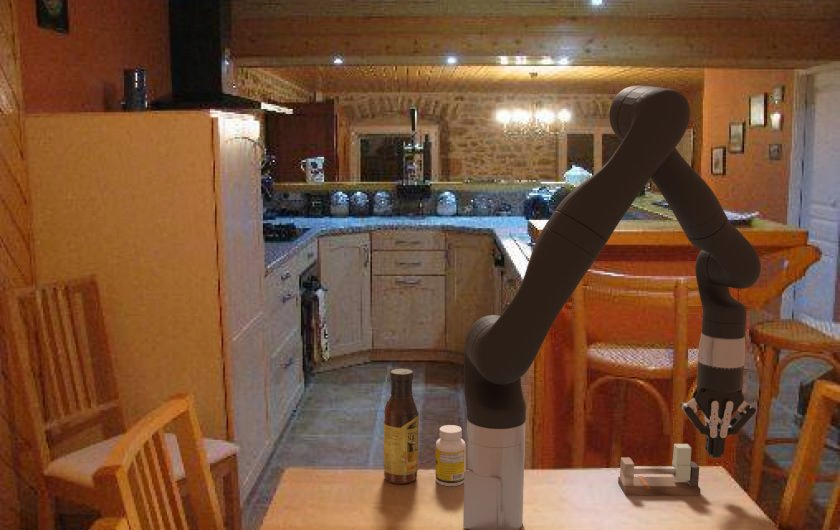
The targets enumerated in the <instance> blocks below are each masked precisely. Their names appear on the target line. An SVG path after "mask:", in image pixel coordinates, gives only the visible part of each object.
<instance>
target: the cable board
mask: <svg viewBox="0 0 840 530" xmlns="http://www.w3.org/2000/svg"><path fill="white" fill-rule="evenodd" d="M690 466H691V471H690V481H686V480H675V478H674V477H673V476H642V475H672V474H676V467H672V466H669V465H668V466H663V465H662V466H659V465H658V466H652V465H651V466H650V465H649V466H648V465H647V466H644V465H643V466H641V465H639V466H638V465H636V466H635V463H634V461H633V460H632V458H631V457H620V467H619V468H620V469H619V476H618V478H617V484H618V485H619V487H620V488H621V490H622V492H623V494H624V495H625V496H701V488H700V486H699V479H700V466H699V465H698V463H696V462H695V461H690ZM635 475H638V476H635ZM639 475H641V476H639Z"/></svg>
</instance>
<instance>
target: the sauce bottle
mask: <svg viewBox="0 0 840 530" xmlns="http://www.w3.org/2000/svg"><path fill="white" fill-rule="evenodd" d="M389 378H390V387H391V389H390V397H389V399H388V401H387V402H386V403H385V406H384V411H383V412H384V421H383V476H384V479H385V480H386V481H387V482H389V483H392V484H397V485H404V484H408V483H409V484H410V483H413V482H414V481H416V479H417V477H418V471H419V431H420V429H419V427H420V426H419V424H420V423H419V421H420V419H419V418H420V417H419V415H420V414H419V411H418V408H417V405H416V403H415V400H414V396H413V380H414V373H413V370H411V369H407V368H397V369H396V368H394V369H392V370H391V371H390V377H389Z"/></svg>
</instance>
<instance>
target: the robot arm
mask: <svg viewBox="0 0 840 530" xmlns="http://www.w3.org/2000/svg"><path fill="white" fill-rule="evenodd" d="M608 115H609V116H608V118H609V124H610V127H611V130H612V132H613V133H614V135H616V137H617V139H618V140H619V141H620V144H619V145H618V146H617V149H616V150H615V152H614V153H613V155H612V156H611V157H610V158H609V160H608V161H607V162H606V163H605V164H604V165H603V166H602V167H601V168H600V169H599V170H597V171H596V172H595V173H594V174H592V175H591V176H589V178H587V179H586V180H585V181H583V182H581V184H579V185H578V186H577V187H576V188H574V189H573V190H572V191H571V192H569V193H568V194H567V195H566V196H565V197H564V198H563V199H562V200H561V202H559V204H558V205H557V207H556V208H555V210H554V211H553V212H552V214H551V215H550V217H549V219H548V220H547V222H546V223H545V225H544V226H543V228H542V230H541V232H540V233H539V235H538V237H537V239H536V241H535V244H534V246H533V248H532V251H531V253H530V257H529V261H528V264H527V266H526V270H525V272H524V275H523V279H522V281H521V283H520V286H519V288H518V290H517V292H516V293H515V295H514V297H513V298H512V299H511V301H510V302H509V304H508V305H507V306H506V308H505V309H504V311H503V312H502V313H501V315H497V314H490V315H485V316H482V317H481V318H478V320H476V321H475V322H474V323H473V324H472V325H471V326H470V327H469V329H468V331H467V334H466V336H465V341H464V347H463V349H464V350H463V380H464V381H463V387H464V388H463V389H464V390H463V391H464V392H463V393H464V400H465V404H466V441H465V444H466V471H465V472H464V483H463V513H462V514H463V515H462V516H463V517H462V518H463V524H462V525H463V526H462V528H464V529H466V530H520V529H521V528H522V526H523V521H524V520H523V519H524V518H523V515H524V490H525V489H524V482H525V481H524V479H525V452H526V451H525V450H526V419H527V418H526V417H527V416H526V415H527V407H526V401H525V397H524V395H523V390H522V381H521V380H522V378H521V377H523V376H524V375H525V374H526V372H528V371H529V369H530V368H531V366H532V364H533V362H534V361H535V359H536V357H537V355H538V353H539V351H540V349H541V347H542V345H543V344H544V341H545V339H546V338H547V336H548V334H549V332H550V329H551V328H552V326H553V324H554V322H555V320H556V319H557V317H558V315H560V312H561V311H562V309H563V307H564V306H565V305H566V303H568V301H569V299H571V296H572V295H573V293H574V292H575V290H576V289H577V287H578V286H579V284H580V283H581V282H582V280H583V279H584V277H585V275H586V274H587V272H588V271H589V270H590V269H591V267H592V265H594V263H595V261H596V260H597V258H598V257H599V255H600V253H601V252H602V250H603V248H604V247H605V246H606V245H607V243H608V241H609V240H610V238H611V237H612V236H613V235H612V234H613V233H614V231H615V230H616V228H617V226H618V225H619V224H620V222H621V220H623V218H624V217H625V215H626V213H627V212H628V210H629V209H630V207H632V204H634V201H635V200H636V199H637V197H638V195H639V194H640V193H641V191H642V190H643V189H644V187H645V186H646V184H648V181H650V180H651V181H652V182H653V184H654V185H655V187H656V189H658V190H659V192H660V194H661V196H662V197H663V199H664V200H665V201H666V204H667V205H668V207H669V209H670V210H671V211H672V213H673V215H674V217H675V219H676V220H677V222H678V224H679V225H680V227H681V229H682V231H683V233H684V234H685V237H686V238H687V240H688V241H689V243H690V244H691V245H692V246H693V247H694V248H696V249H699V250H700V251H699V252H698V255H697V257H696V260H695V268H694V269H695V272H694V273H695V279H696V284H697V289H698V293H699V298H700V299H699V300H700V303H701V307H702V315H701V316H702V320H701V331H700V339H699V343H698V352H697V367H696V368H697V371H696V388H695V391H694V392H693V393H692V398H691V399H690V400H688V401H687V402H684V401H682V402H681V403H680V404H679V407H680V408H681V410H682V411H683V413H684V414H685V415H686V417H687V418H688V419H689V421H690V422H691V424H692V425H693V426H694V427H695V429H696V430H697V431H698V432H699V433H700V434H702V435H705V446H704V449H705V452H706V453H707V454H708V456H709V457H710V459H711V458H712V459H720V458H721V457H722V455H723V456H724V453H725V447H726V446H725V444H726V438H727V436H730V435H732V436H735V435H736V434H737V433H739V431H740V430H741V429H742V428H743V427H744V426H745V425H746V423H748V421H749V420H751V418H752V417H753V416H754V415H755V413H756V412H757V409H756V407H754V406H753V405H752V404H751V403H749V402H747V401H746V400H745V395H744V393H743V388H744V375H745V374H744V372H745V363H746V362H745V361H746V360H745V358H746V341H745V340H746V325H747V307H746V306H745V304H744V303H742V302H741V301H739V300H738V299H736V298H734V297H733V296H732V295H731V293H730V288H731V289H737V290H742V289H743V290H744V289H745V290H746V289H748V288H749V289H750V287H752V286H754V285H755V284H756V283H757V281H758V280H759V278H760V276H761V270H762V264H761V260H760V256H759V254H758V251H756V249H755V248H754V246H753V245H752V243H751V242H749V240H748V239H747V238H746V237H745V236H744V235H743V233H741V232H740V231H739V230H738V229H737V228H736V226H735V225H733V224H732V223H731V222H730V220H729V219H728V216H727V214H726V213H725V210H724V209H723V207H722V205H721V203H720V201H719V199H718V197H717V196H716V194H715V193H714V191H713V190H712V188H711V187H710V185H709V184H708V183H707V182H706V181H705V180H704V179H703V177H701V175H699V174H698V173H697V172H696V170H695V169H694V168H693V167H692V166H691V165H690V164H689V163H688V162H687V160H685V158H683V156H682V155H681V153H680V151H678V149H677V148H676V147H677V146H678V144H679V143H680V142H681V141H682V139H683V137H684V135H685V133H686V131H687V129H688V126H689V123H690V119H691V107H690V104H689V101H688V99H687V97H686V96H685V95H684V94H682V93H681V91H680V92H679V91H677V90H675V89H672V88H666V87H660V86H659V87H658V86H649V85H631V86H629V87H625V88H623V89H622V90H621V91H619V92H618V93H617V94H616V95H615V96H614V98H613V99H612V102H611V104H610V109H609V113H608ZM697 407H698V408H699V410H700V411H701V413H702V414H703V417H704V422H705V423H704V424H703V422H702V420H701V419H700V418H699V417H698V416H697V414H696V413H697V411H698V408H697ZM734 413H735V414H734Z"/></svg>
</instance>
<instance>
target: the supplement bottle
mask: <svg viewBox="0 0 840 530" xmlns="http://www.w3.org/2000/svg"><path fill="white" fill-rule="evenodd" d="M462 437H463V429H462V428H461V426H459V425H454V424H447V425H446V424H445V425H442V426H440V427H439V438H438V439H437V440H436V441H435V481H436V483H437V484H439V485H441V486H444V485H445V486H446V487H457V486H461V485H462V484H463V485H464V472H465V471H466V441H465V439H463V438H462Z"/></svg>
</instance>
